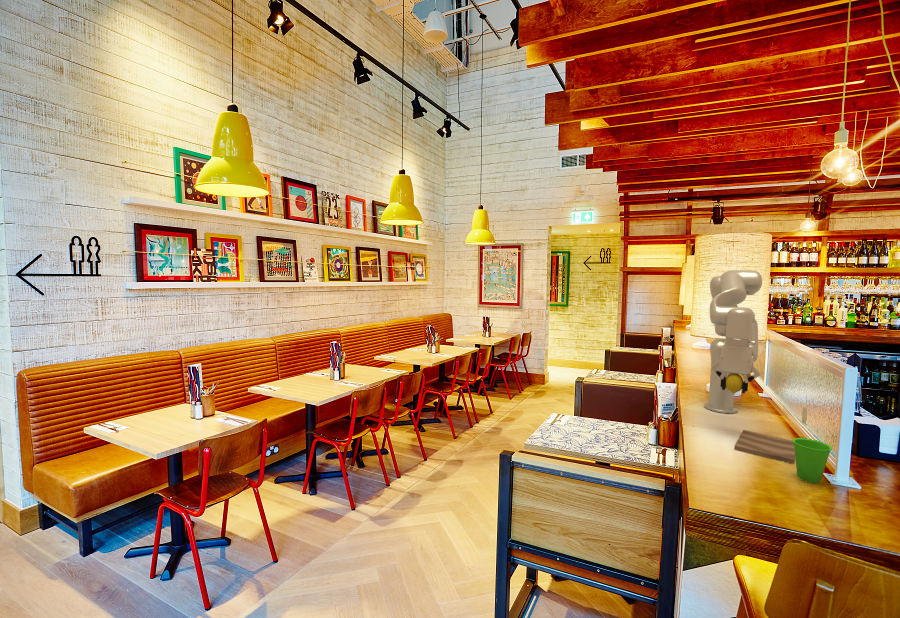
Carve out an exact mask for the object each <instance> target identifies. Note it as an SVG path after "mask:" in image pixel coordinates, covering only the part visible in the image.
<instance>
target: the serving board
mask: <svg viewBox="0 0 900 618" xmlns="http://www.w3.org/2000/svg"><path fill="white" fill-rule="evenodd" d="M792 440H793V439H787V438H783V437H779V436H773V435H769V434H765V433H760V432H755V431H751V430H746V429H742V431H741V433H740V435H739V436H738V439H737V440H736V443H735V444H734V450H735V451H738V452H742V453H747V454H751V455H755V456H759V457H763V458H768V459H770V460H771V459H772V460H774V459H775V460H776V461H779V462H782V461H784V463H787V462H789V463H788V464H791V463H793V464H792V465H794V464H795V463H794V462H795V460H796V459H795V449H794V442H793V441H792Z"/></svg>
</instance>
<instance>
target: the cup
mask: <svg viewBox="0 0 900 618" xmlns="http://www.w3.org/2000/svg"><path fill="white" fill-rule="evenodd" d="M791 440H792V441H793V442H794V449H795V459H794V460H795V467H796V476H797V477H799V478H800V479H799V478H798V479H799V480H801V479H802V480H804V481H803V482H805V481H807V482H806V483H808V482H811V483H810V484H814V483H817V484H819V483H821V480H822V477H823V474H824V472H825V469H826V465H827V462H828V460H829V455H830V453H831V451H832V450H833V447H832V446H831V445H830V444H828V443H825V442H824V443H823V442H820V441H817V440H812V439H807V438H802V437H795V438H793V439H791ZM802 480H801V481H802ZM818 482H819V483H818Z"/></svg>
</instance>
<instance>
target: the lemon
mask: <svg viewBox="0 0 900 618" xmlns="http://www.w3.org/2000/svg"><path fill="white" fill-rule="evenodd" d="M743 382H744V379H743V376H742V375H741V374H734V373H731V374H729V375H728V376H727V378H726V381H725V385H726V388H727V389H728V390H729V391H731V392H732V393H733V394H734V395H735V394H736V393H738V392H740V391H742V384H743Z"/></svg>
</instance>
